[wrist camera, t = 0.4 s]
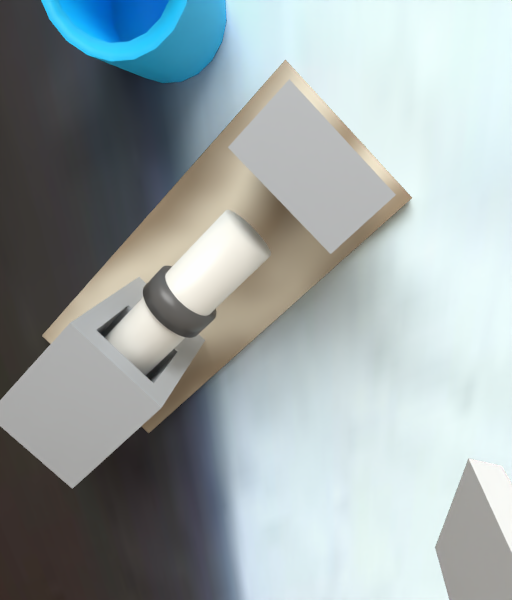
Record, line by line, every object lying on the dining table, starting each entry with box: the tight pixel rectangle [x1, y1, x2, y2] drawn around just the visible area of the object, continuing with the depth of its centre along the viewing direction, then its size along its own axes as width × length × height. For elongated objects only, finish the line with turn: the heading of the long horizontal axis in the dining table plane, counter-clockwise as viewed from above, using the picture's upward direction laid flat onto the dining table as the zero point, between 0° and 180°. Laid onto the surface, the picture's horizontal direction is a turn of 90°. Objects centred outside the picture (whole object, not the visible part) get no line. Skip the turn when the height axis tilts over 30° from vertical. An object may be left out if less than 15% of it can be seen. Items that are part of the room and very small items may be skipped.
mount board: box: [42, 60, 412, 433], centre depth 35 cm, size 12×28×1 cm, turn 135°
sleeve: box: [0, 277, 205, 489], centre depth 32 cm, size 9×7×10 cm
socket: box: [228, 79, 396, 254], centre depth 26 cm, size 4×7×10 cm, turn 45°
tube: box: [105, 210, 271, 376], centre depth 29 cm, size 18×4×4 cm, turn 135°
